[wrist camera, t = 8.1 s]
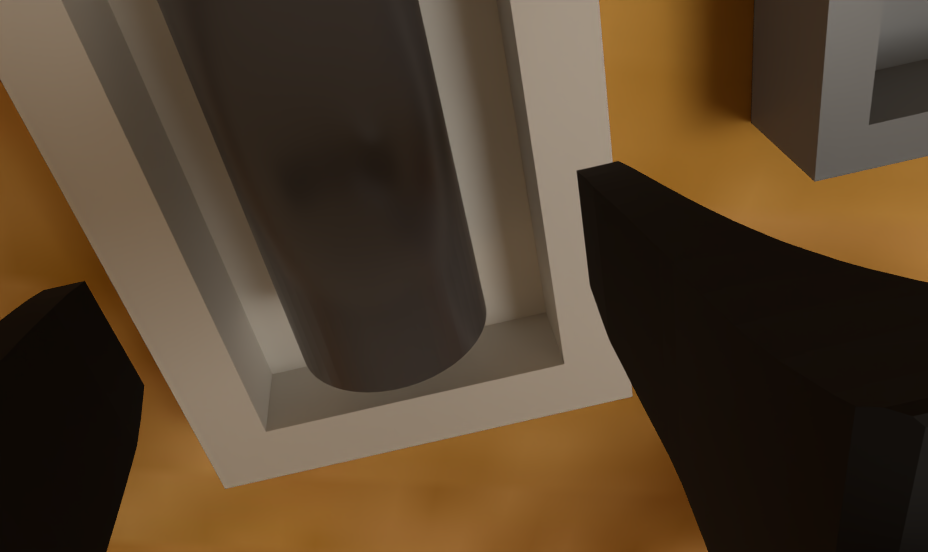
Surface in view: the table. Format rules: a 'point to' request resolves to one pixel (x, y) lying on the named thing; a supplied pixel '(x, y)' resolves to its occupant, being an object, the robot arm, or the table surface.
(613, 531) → the table surface
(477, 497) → the table surface
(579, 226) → the trough board
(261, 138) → the cylinder
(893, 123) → the bin
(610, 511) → the table surface
